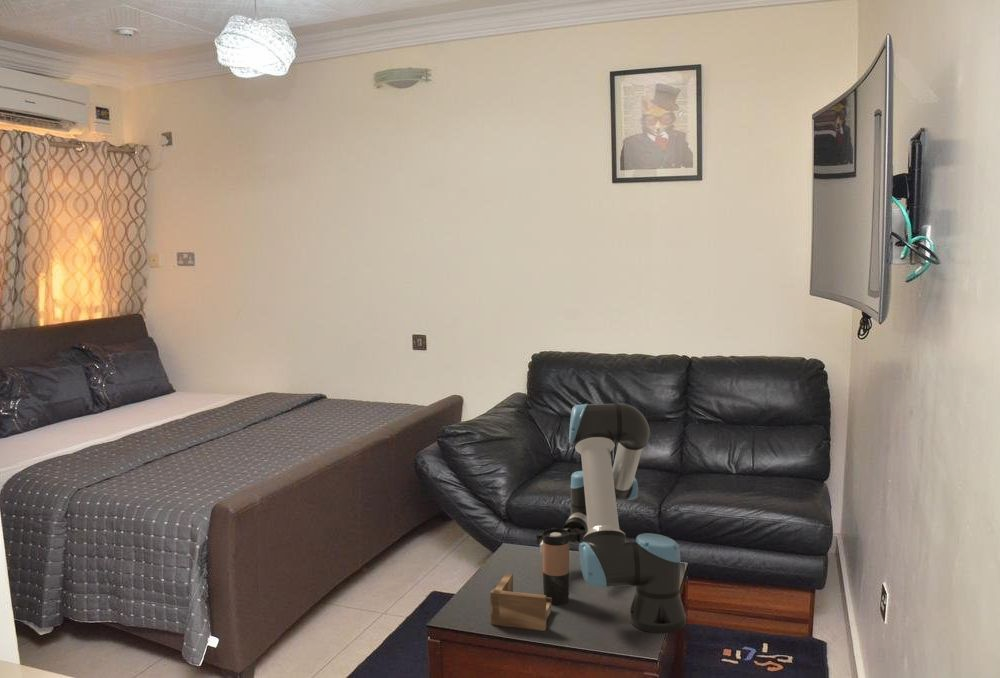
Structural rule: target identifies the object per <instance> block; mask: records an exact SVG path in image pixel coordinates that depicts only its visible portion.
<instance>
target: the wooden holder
mask: <svg viewBox="0 0 1000 678" xmlns="http://www.w3.org/2000/svg"><path fill="white" fill-rule="evenodd" d="M489 593H490V594H489V595H490V596H489V597H490V598H489V599H490V603H489V604H490V625H492V626H493V625H494V626H501V627H509V628H518V629H524V630H525V629H527V630H534V631H542V632H543V631H544V632H545V631H546V629H547V620H548V618H549V616H550V614H551V613H552V604H551V602H552V598H550V597H546V595H544V594H536V593H529V592H527V593H526V592H517V591H514V574H513V573H508V572H507V573H505V574H504V575H503V577H502V578H501V580H500V581H499V583H498V584H497V585H496V586H495V588H494V589H492V590H491V591H490V592H489Z"/></svg>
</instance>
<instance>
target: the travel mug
mask: <svg viewBox="0 0 1000 678" xmlns="http://www.w3.org/2000/svg"><path fill="white" fill-rule="evenodd" d="M542 533H543V553H542V582H543V583H542V584H543V586H542V587H543V595H546V597H550V598H552V602H551V605H553V606H554V605H555V606H558V605H565V604H566V603H568V602H569V594H570V592H569V591H570V541H569V533H568V531H566V530H563V528H562V529H561V528H556V529H552V528H549V529H545V530H544V531H543V532H542Z"/></svg>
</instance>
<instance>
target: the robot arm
mask: <svg viewBox="0 0 1000 678" xmlns="http://www.w3.org/2000/svg"><path fill="white" fill-rule="evenodd" d="M569 419H570V420H569V421H570V422H569V431H568V441H569V444H571V445H574V448H575V451H576V452H577V453H578V454H580V456H581V457H580V458H581V468H582V470H577V471H575V472H574V471H573V472H572V474H571V476H570V485H569V486H570V516H569V517H568V519H567V520H566V521H565V524H564V525H563V527H562V529H563V530H566V531H568V533H569V543H573V544H574V543H575V544H577V543H578V556H579V565H580V570H581V573H582V577H583V579H584V581H585V583H586V584H587V585H588V586H589V587H592V588H593V587H596V588H597V587H598V588H603V589H604V588H606V587H607V588H608V587H635V595H634V596H633V600H632V603H631V606H630V609H629V622H630V624H631V625H632V626H634V627H635V628H637V629H639V630H640V631H641V630H642V631H644V632H648V633H656V634H670V633H675V632H678V631H680V630H682V629H683V628H685V627H686V624H687V615H686V614H687V613H686V612H685V611H686V610H685V608H684V604H683V601H682V598H681V595H680V592H681V591H680V585H681V561H682V559H681V551H680V549H681V548H680V546H679V544H678V542H677V541H675V540H674V539H672V538H671V537H668V536H665V535H663V534H657V533H650V532H645V533H640V534H638V535H637V536H636V538H635V541H627V536H626V533H625V532H624V531H623V530H621V529H620V524H619V516H618V515H619V514H618V508H617V501H630V500H636V499H637V498H638V496H639V495H638V494H639V484H638V480H637V478H636V474H637V473H636V472H637V469H638V466H639V462H640V459H641V455H642V451H643V449H644V448H646V446H647V445H648V443H649V439H650V433H651V431H650V426H649V423H648V421H647V419H646V417H645V416H644V415H643V413H642V412H641V411H640V410H638V409H637V408H636V407H634V406H632V405H630V404H627V403H619V402H618V403H591V404H590V403H585V404H576V405H574V406H573V407H572V408H571V413H570V418H569ZM617 443H618V444H617ZM615 444H617V448H616V453H615V457H614V461H613V465H612V455H611V452H612V451H613V450H614V448H615V447H616V445H615ZM551 529H557V528H556V527H551ZM535 542H536V544H538V548H539V554H543V532H542V533H539V534H537V535H535Z"/></svg>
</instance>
